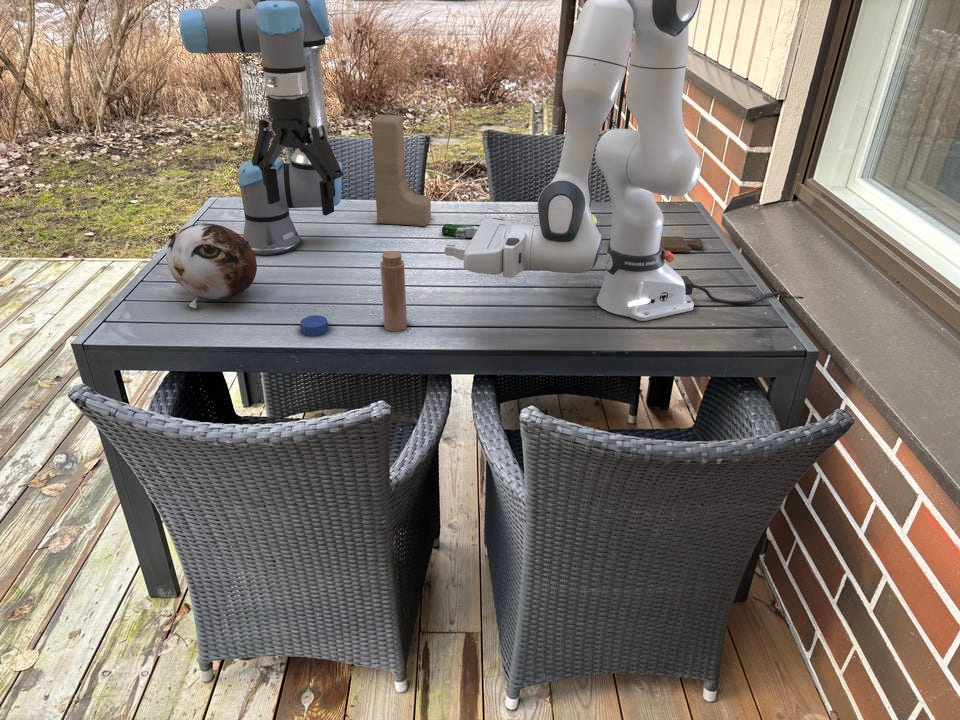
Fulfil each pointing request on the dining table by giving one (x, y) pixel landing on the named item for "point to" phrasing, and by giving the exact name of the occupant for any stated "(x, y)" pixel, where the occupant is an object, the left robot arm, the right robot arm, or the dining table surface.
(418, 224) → the decorative block
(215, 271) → the brown and white balloon
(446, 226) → the handgun
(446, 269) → the dining table surface
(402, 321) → the jar
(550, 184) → the right robot arm
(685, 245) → the wooden paddle board
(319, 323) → the lid
